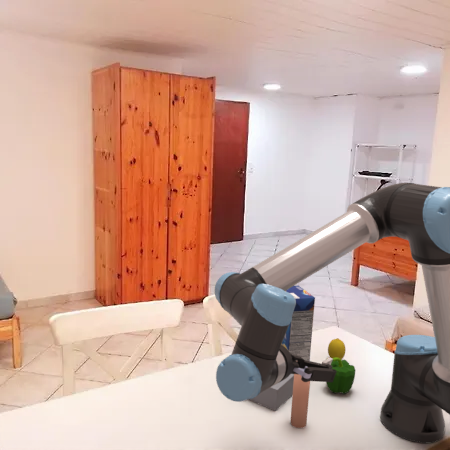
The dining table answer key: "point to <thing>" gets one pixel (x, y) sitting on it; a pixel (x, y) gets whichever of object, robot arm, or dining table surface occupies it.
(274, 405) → the hole block
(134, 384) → the dining table surface
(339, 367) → the bell pepper
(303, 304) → the juice carton
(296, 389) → the pin
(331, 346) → the lemon
